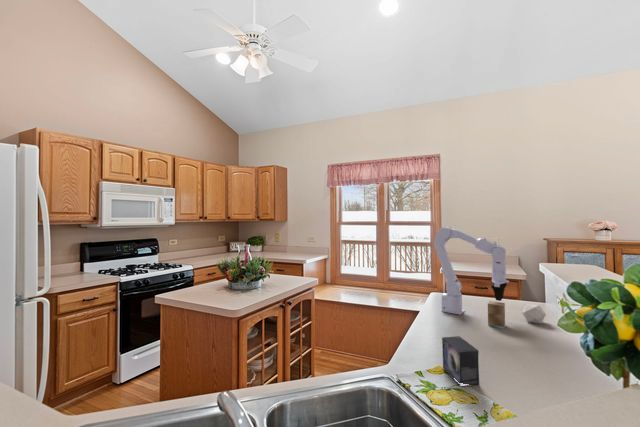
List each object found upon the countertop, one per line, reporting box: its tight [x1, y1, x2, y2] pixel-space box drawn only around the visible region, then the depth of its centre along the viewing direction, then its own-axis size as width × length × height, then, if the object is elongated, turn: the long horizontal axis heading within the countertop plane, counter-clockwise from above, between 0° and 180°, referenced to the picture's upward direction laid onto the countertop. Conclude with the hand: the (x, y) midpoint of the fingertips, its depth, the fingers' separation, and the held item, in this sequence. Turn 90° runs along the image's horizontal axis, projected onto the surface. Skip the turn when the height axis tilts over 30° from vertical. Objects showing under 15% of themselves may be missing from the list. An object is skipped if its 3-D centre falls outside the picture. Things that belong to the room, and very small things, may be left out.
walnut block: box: [487, 300, 506, 330], centre depth 132 cm, size 6×5×10 cm
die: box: [521, 303, 547, 325], centre depth 136 cm, size 8×9×10 cm
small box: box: [441, 335, 480, 386], centre depth 91 cm, size 11×6×10 cm, turn 5°
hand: (499, 299), depth 141 cm, fingers open, 5 cm apart
